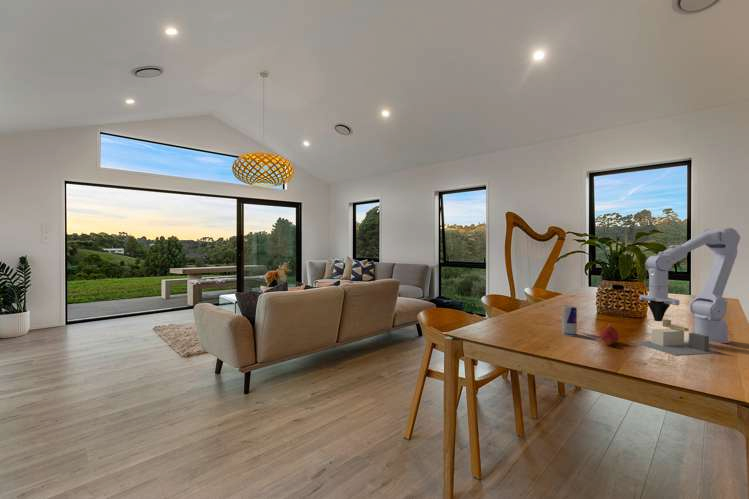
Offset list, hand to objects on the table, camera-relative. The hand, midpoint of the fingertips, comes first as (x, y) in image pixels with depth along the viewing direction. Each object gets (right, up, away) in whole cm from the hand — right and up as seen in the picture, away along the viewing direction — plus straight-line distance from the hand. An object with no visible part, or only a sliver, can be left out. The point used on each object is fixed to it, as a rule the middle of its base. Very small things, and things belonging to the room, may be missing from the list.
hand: (658, 320), depth 137 cm
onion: (-23, -8, -6) cm, 25 cm away
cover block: (-2, -7, -7) cm, 10 cm away
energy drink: (-30, -8, +9) cm, 32 cm away
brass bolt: (+1, -1, -7) cm, 7 cm away
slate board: (-4, -8, -10) cm, 14 cm away
